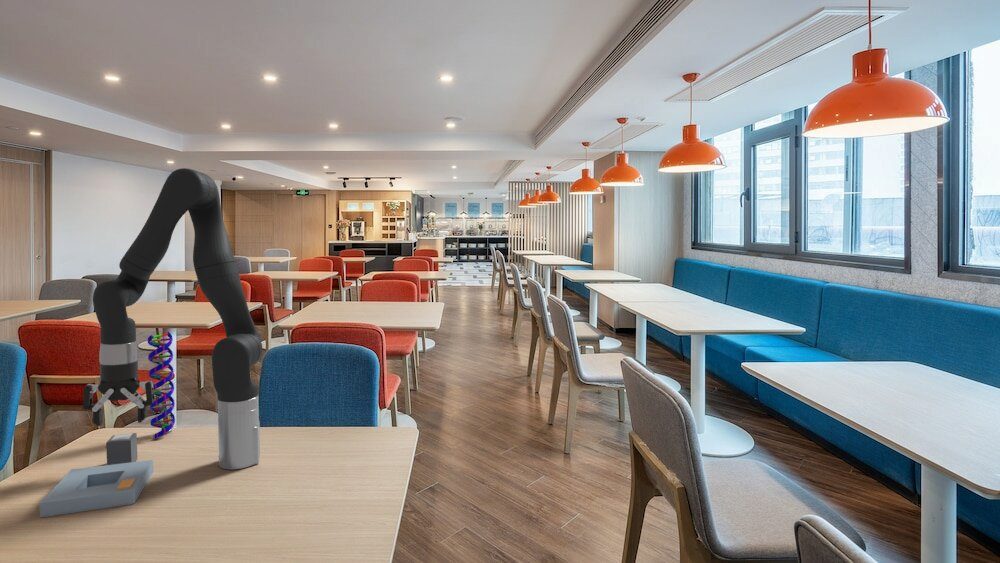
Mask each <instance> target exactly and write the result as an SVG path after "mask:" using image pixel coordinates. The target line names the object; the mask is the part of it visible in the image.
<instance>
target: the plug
mask: <svg viewBox="0 0 1000 563" xmlns="http://www.w3.org/2000/svg"><path fill="white" fill-rule="evenodd" d="M137 434H138V433H137V432H133V433H132V432H131V433H124V434H123V433H121V434H115V435H114V434H113V435H112V436H111V437H110V438H109V439H108V440H107V441H106V443H105V444H106V446H105V447H106V451H105V452H106V465H114V464H122V463H130V462H138V438H137V436H138V435H137Z"/></svg>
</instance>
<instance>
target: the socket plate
mask: <svg viewBox="0 0 1000 563" xmlns="http://www.w3.org/2000/svg"><path fill="white" fill-rule="evenodd" d="M153 473H154V459H148V460H139V461H136V462H130V463H122V464H114V465H107V464H105V465H97V466H91V467H90V466H89V467H80V468H73V469H70V470H69V471H68V473H67V474H66V475H65V476H64V477H63V478H62V479H61V480H60V481H59V482H58V483H57V484H56V485H55V487H53V488H52V490H51V491H50V492H48V494H47V495H45V497H44V498H43V499H42V500H41V501H40V502H39V503H38V504H39V518H47V517H52V516H53V517H54V516H59V515H67V514H73V513H80V512H81V513H82V512H87V511H93V510H100V509H109V508H114V507H120V506H121V507H122V506H128V505H133V504H135V503H136V501H137V500H138V498H139V497H140V494H141V493H142V491H143V490H144V488H145V486H146V485H147V483H148V481H149V480H150V478H151V476H152V474H153Z"/></svg>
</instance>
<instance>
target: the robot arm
mask: <svg viewBox="0 0 1000 563" xmlns="http://www.w3.org/2000/svg"><path fill="white" fill-rule="evenodd" d="M187 212H188V214H189V217H190V219H191V222H192V226H193V230H194V240H193V250H192V262H193V268H194V271H195V275H196V278H197V282H198V283H197V284H198V286H199V288H200V290H201V293H202V294H203V295H204V297H205V298H206V299H207V300H208V302H209V303H210V304H211V305H212V307H213V308H214V309H215V310H216V312H217V314H218V315H219V317H220V319H221V321H222V322H221V323H222V325H223V328H224V332H225V337H224V338H221V339H220V340H218V341H217V342H216V343H215V345H214V347H213V350H212V354H211V355H212V356H211V367H212V380H213V387H214V389H215V392H216V393H217V425H218V426H217V429H218V430H217V431H218V434H217V435H218V466H219V467H220V468H221V469H223V470H240V469H245V468H248V467H251V466H254V465H258V464H259V463H260V457H261V439H260V438H261V437H260V435H261V433H260V432H261V431H260V429H261V428H260V427H261V426H260V416H259V413H260V411H259V409H260V408H259V385H258V383H257V382H256V381H255V382H254V381H252V379H251V378H252V376H251V367H252V366H254V365H255V364H257V363H258V362H259V361H260V360H261V358H262V355H263V344H262V341H261V338H260V334H259V332H258V330H257V327H256V325H255V323H254V320H253V318H252V315H251V313H250V309H249V306H248V302H247V299H246V295H245V293H244V288H243V285H242V282H241V278H240V273H239V272H240V271H239V269H238V265H237V263H236V262H237V261H236V258H235V256H234V253H233V249H232V245H231V242H230V239H229V235H228V232H227V230H226V225H225V222H224V218H223V212H222V206H221V198H220V193H219V189H218V186H217V184H216V182H215V180H214V179H213V178H212V177H211V176H209V175H208V174H206V173H203V172H201V171H198V170H195V169H191V168H182V167H181V168H179V169H177V168H176V169H175V170H173V171H172V172H171V173H170V174H169V175H168V176H167V178H166V179H165V181H164V183H163V185H162V188H161V190H160V192H159V194H158V197H157V199H156V201H155V203H154V206H153V208H152V210H151V211H150V213H149V216H148V217H147V219H146V221H145V223H144V225H143V227H142V228H141V230H140V232H139V233H138V235H137V237H136V238H135V239H134V241H133V242H132V243H131V245H130V247H129V248H128V249H127V251H126V252H125V253H124V255H123V257H122V258H121V259H120V261H119V264H118V265H119V268H120V273H119V275H118V276H117V278H116V279H112V280H106V281H102V282H101V283H99V284H98V285H97V286H96V287H95V289H94V291H93V295H92V305H93V308H94V312H95V315H96V318H97V321H98V323H99V325H100V327H99V328H100V330H99V332H100V333H99V334H100V347H99V357H98V361H99V380H100V381H99V384H93V383H90V382H89V383H88V384H86V385H85V386H84V387H83V396H82V398H83V399H82V409H83V410H84V411H87V410H88V411H92V420H93V421H92V422H93V424H94V425H95V426H96V427H101V426H102V425H103V423H104V415H103V414H104V413H103V408H102V407H103V406H104V404H106V402H108V401H110V402H116V401H127V400H129V401H130V402H131V403H133V404H134V405H136V407H138V408H137V423H143V421H144V420H146V418H147V407H148V406H150V405H152V404H153V402H154V401H155V400H156V398H155V396H156V395H154V384H155V383H154V379H149V380H147V381H146V380H145V381H140V380H139V369H138V368H139V366H138V364H139V360H138V359H139V358H138V357H139V356H138V345H137V326H136V321H135V320H134V318H131V317H129V316H128V310H127V307H130V306H131V307H132V306H133V305H134V304H135V303H137V302H138V301H139V300H140V298H142V295H144V292H145V291H146V288H147V285H148V284H149V281H150V277H151V275H152V274H154V271H156V268H158V266H159V264H160V263H161V262H162V260H163V258H164V257H165V255H166V253H167V252H168V249H169V247H170V243H171V241H172V235H173V233H174V230H175V228H176V226H177V225H178V222H180V220H181V219H182V217H183V216H184V215H185V214H186V213H187ZM139 388H142V390H143V391H145V397H146V400H145V399H144V398H143V397H142V395H141V394H140V393H139V391H138V389H139ZM97 390H98V391H99V393H101V394H102V397H101V398H100V399H99V400H98V401H97V402H96V403H94V393H96V391H97Z"/></svg>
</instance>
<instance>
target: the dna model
mask: <svg viewBox="0 0 1000 563" xmlns="http://www.w3.org/2000/svg"><path fill="white" fill-rule="evenodd" d="M163 337H165V338H163ZM166 337H167V338H166ZM165 341H167V343H166V342H165ZM172 343H173V335H172V333H171V332H170V331H167V332H166V333H162V334H161V333H160V334H156V335H152V334H151V335H149V336H148V337H147V344H148V345H149V346H151V347H154V348H156V349H154V350H152V351H151V352H149V353H148V355H147V359H148V361H149V362H151V363H152V364H153V363H154V364H157V366H154V367H152V368H151V369H150V370H149V371H148V376H149V377H150V378H151V379H152V380H157V382H156V383H153V384H154V395H155V396H158V397H159V398H157V399H155V401H154V402H153V404H152V405H149V409H150V410H151V411H154V412H158V413H160V414H158V415H157V416H155V417H153V418H151V419H150V422H149V423H150V425H151V426H152V427H155V428H158V429H160V431H158V432H156V433H155V434H154V436H153V437H154V440H156V439H158V438H160V437H163V435H165V434H168V433H169V432H170V433H172V431H169V430H170V429H173V427H174V425H175V422H176V417H175V414H174V413H173V412H172V411H173V410H174V408H175V399H174V398H173V396H172V395H173V394H174V391H175V385H174V383H173V381H172V380H171V379H172V378H173V376H174V366H173V365H171V364H170V363H171V362H172V361H173V359H174V352H173V350H172V349H171V348H170V347H171V345H172ZM166 353H168V354H166ZM163 354H166V355H163ZM164 358H165V359H164ZM166 358H167V359H166ZM164 369H169V370H170V371H162V372H161V370H164ZM159 371H160V372H159ZM165 375H167V376H165ZM166 385H170V387H162V386H166ZM160 387H161V388H160ZM165 391H168V392H165ZM169 401H170V402H169ZM166 402H169V403H166ZM163 403H164V404H163ZM169 406H170V407H169ZM165 407H169V408H165ZM167 417H170V419H169V418H168V419H164V418H167ZM162 419H163V420H162ZM168 422H170V423H169V424H168Z"/></svg>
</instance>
